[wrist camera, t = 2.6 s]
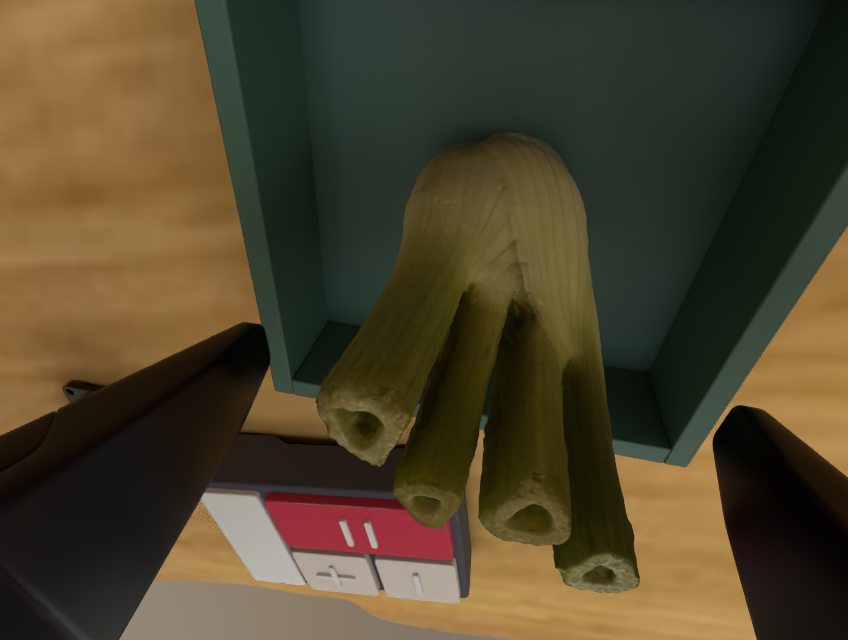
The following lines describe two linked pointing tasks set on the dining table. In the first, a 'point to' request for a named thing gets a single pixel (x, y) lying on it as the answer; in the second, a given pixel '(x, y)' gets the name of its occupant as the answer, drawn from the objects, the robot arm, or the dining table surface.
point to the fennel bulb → (493, 361)
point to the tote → (578, 148)
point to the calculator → (333, 523)
